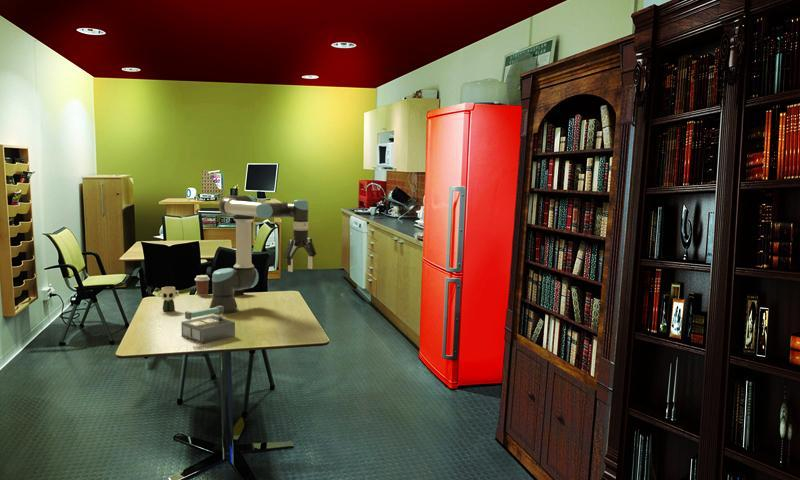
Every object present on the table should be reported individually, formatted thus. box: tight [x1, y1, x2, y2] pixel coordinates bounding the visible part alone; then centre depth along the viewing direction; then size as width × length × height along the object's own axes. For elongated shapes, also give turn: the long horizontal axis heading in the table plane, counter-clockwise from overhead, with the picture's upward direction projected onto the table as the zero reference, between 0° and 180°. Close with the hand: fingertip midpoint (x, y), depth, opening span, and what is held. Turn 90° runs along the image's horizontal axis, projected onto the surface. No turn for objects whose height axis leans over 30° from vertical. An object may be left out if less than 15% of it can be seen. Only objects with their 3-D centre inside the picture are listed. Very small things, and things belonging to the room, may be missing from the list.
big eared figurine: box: [157, 286, 180, 312], centre depth 313 cm, size 11×7×13 cm, turn 108°
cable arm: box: [184, 306, 224, 321], centre depth 264 cm, size 19×3×3 cm, turn 142°
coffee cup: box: [194, 274, 211, 297], centre depth 356 cm, size 9×9×12 cm
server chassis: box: [181, 313, 236, 345], centre depth 266 cm, size 18×17×10 cm
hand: (300, 270), depth 294 cm, fingers open, 13 cm apart
